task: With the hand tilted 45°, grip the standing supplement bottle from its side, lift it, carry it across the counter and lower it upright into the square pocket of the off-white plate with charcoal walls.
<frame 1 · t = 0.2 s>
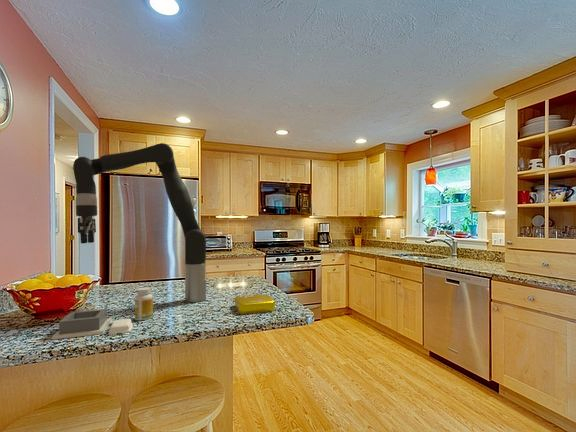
hand: (87, 243, 127), 28 cm above the countertop, tool pointing down, fingers open, 8 cm apart
soap: (121, 331, 103), on the countertop
element tile: (254, 309, 128), on the countertop
pocket plate: (84, 329, 103), on the countertop
supplement bottle: (143, 318, 115), on the countertop
medicine bottle: (73, 309, 128), on the countertop
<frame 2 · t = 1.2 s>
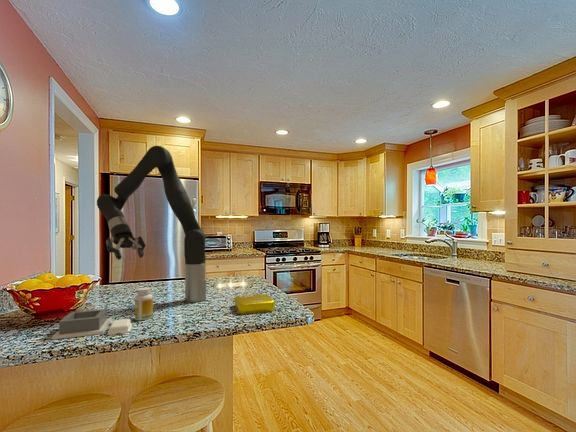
hand: (131, 257, 123), 22 cm above the countertop, tool tilted 45°, fingers open, 8 cm apart
nothing on the countertop moved.
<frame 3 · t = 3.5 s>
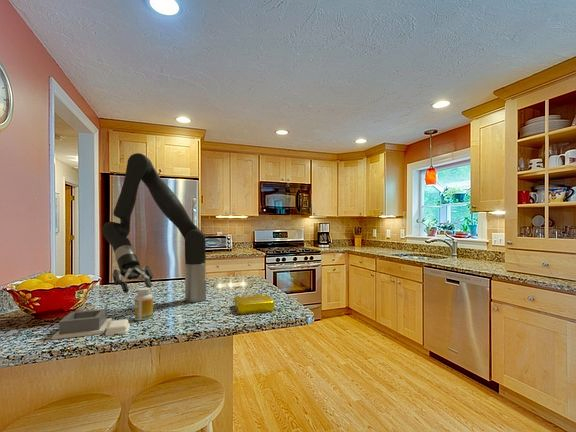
hand: (138, 289, 118), 10 cm above the countertop, tool tilted 45°, fingers open, 8 cm apart
nothing on the countertop moved.
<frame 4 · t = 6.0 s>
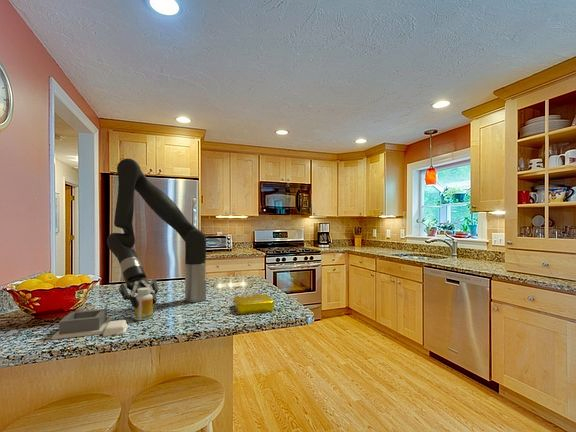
hand: (145, 304, 114), 5 cm above the countertop, tool tilted 45°, fingers closed on supplement bottle, 6 cm apart
soap: (115, 332, 102), on the countertop, touching pocket plate
supplement bottle: (143, 318, 115), on the countertop, touching gripper
everything else where it was.
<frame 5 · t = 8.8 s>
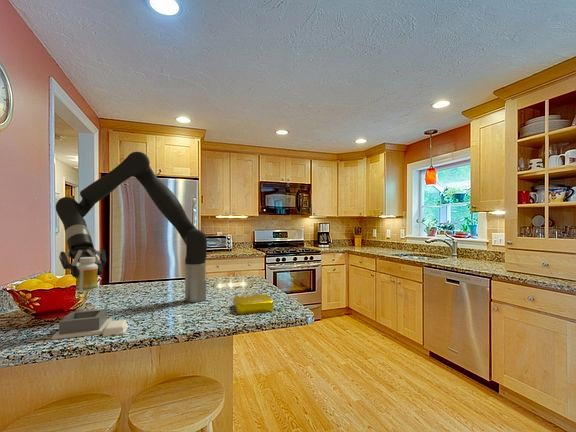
hand: (88, 275, 103), 19 cm above the countertop, tool tilted 45°, fingers closed on supplement bottle, 6 cm apart
soap: (115, 332, 102), on the countertop
supplement bottle: (86, 290, 104), point 13 cm above the countertop, touching gripper
everything else where it was.
when the fingers open (8 cm above the countertop, at t = 11.9 s): supplement bottle drops 1 cm, resting on pocket plate.
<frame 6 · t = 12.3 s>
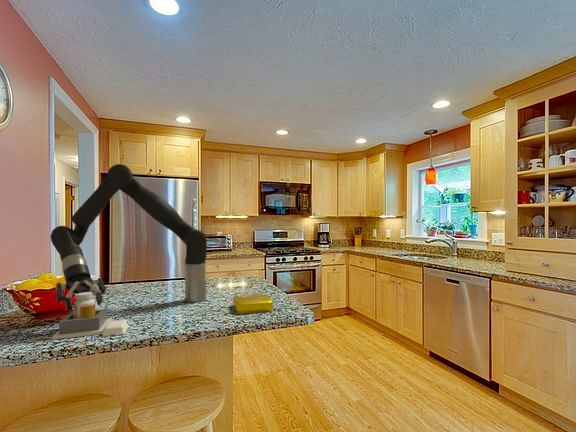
hand: (85, 306, 103), 8 cm above the countertop, tool tilted 45°, fingers open, 8 cm apart
supplement bottle: (84, 326, 104), point 1 cm above the countertop, touching pocket plate
everything else where it was.
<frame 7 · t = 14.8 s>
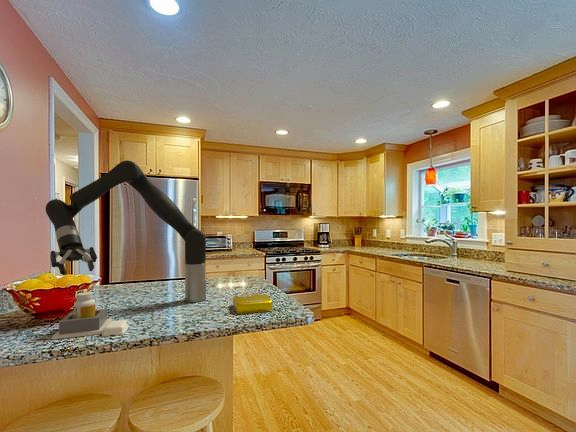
hand: (78, 272, 112), 18 cm above the countertop, tool tilted 45°, fingers open, 8 cm apart
nothing on the countertop moved.
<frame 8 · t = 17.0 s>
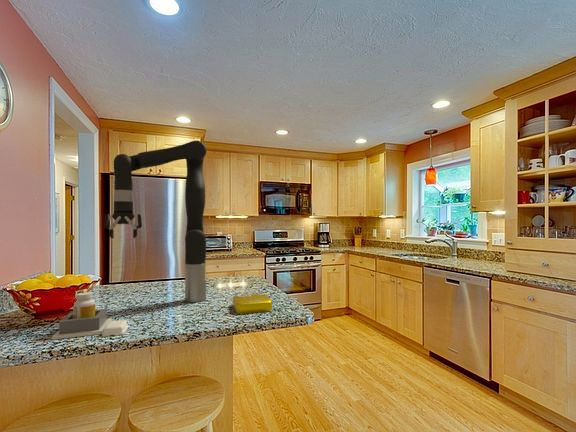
hand: (123, 238, 130), 30 cm above the countertop, tool pointing down, fingers open, 8 cm apart
at the end: supplement bottle 0.2 cm off-centre on the pocket plate, point 0.8 cm above the pocket plate's base; supplement bottle tilted 0°; the gripper is holding nothing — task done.
